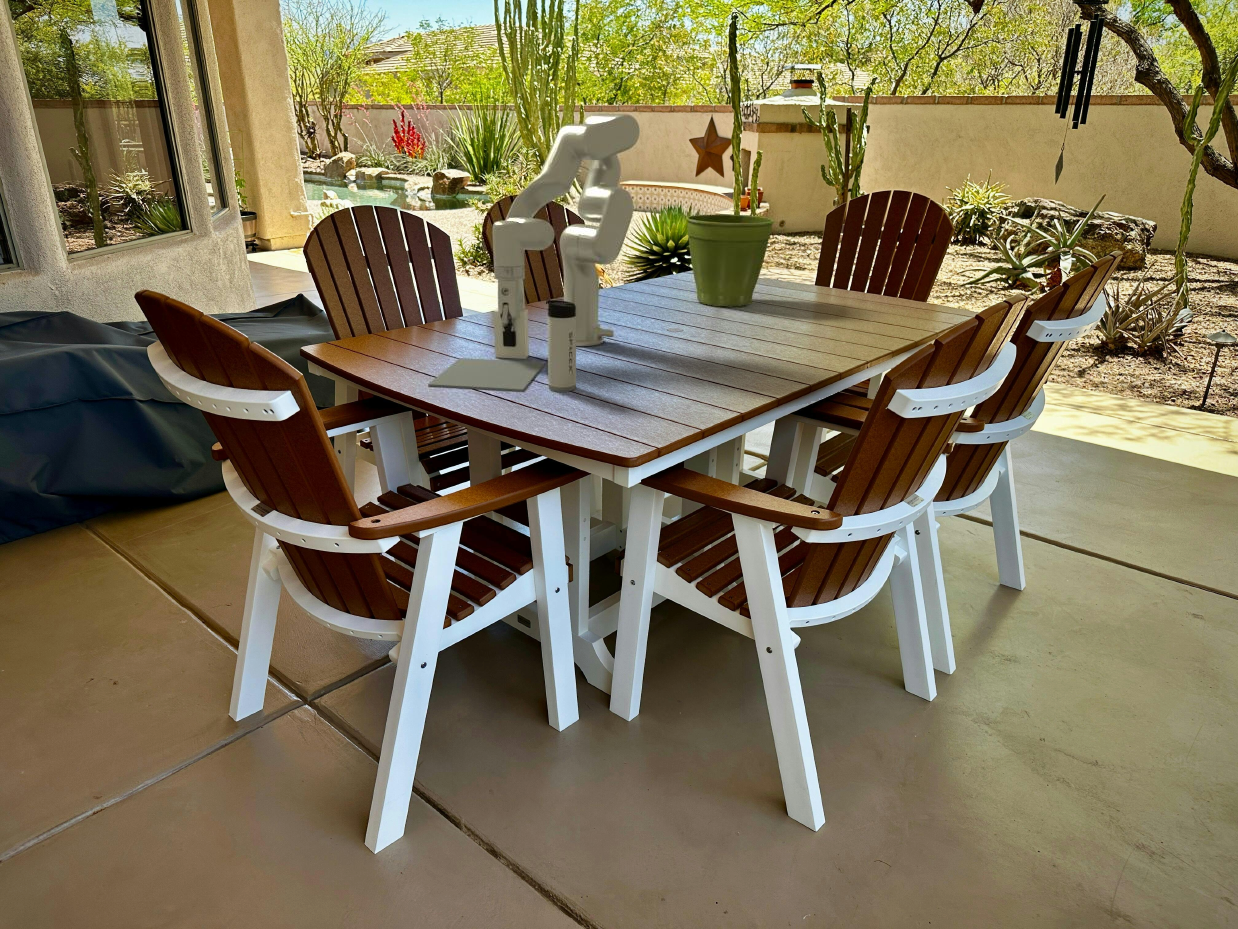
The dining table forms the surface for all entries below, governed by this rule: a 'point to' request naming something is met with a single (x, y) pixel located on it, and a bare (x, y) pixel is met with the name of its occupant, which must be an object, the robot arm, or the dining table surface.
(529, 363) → the mat
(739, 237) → the plant pot
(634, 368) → the dining table surface
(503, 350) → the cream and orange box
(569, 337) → the travel mug
